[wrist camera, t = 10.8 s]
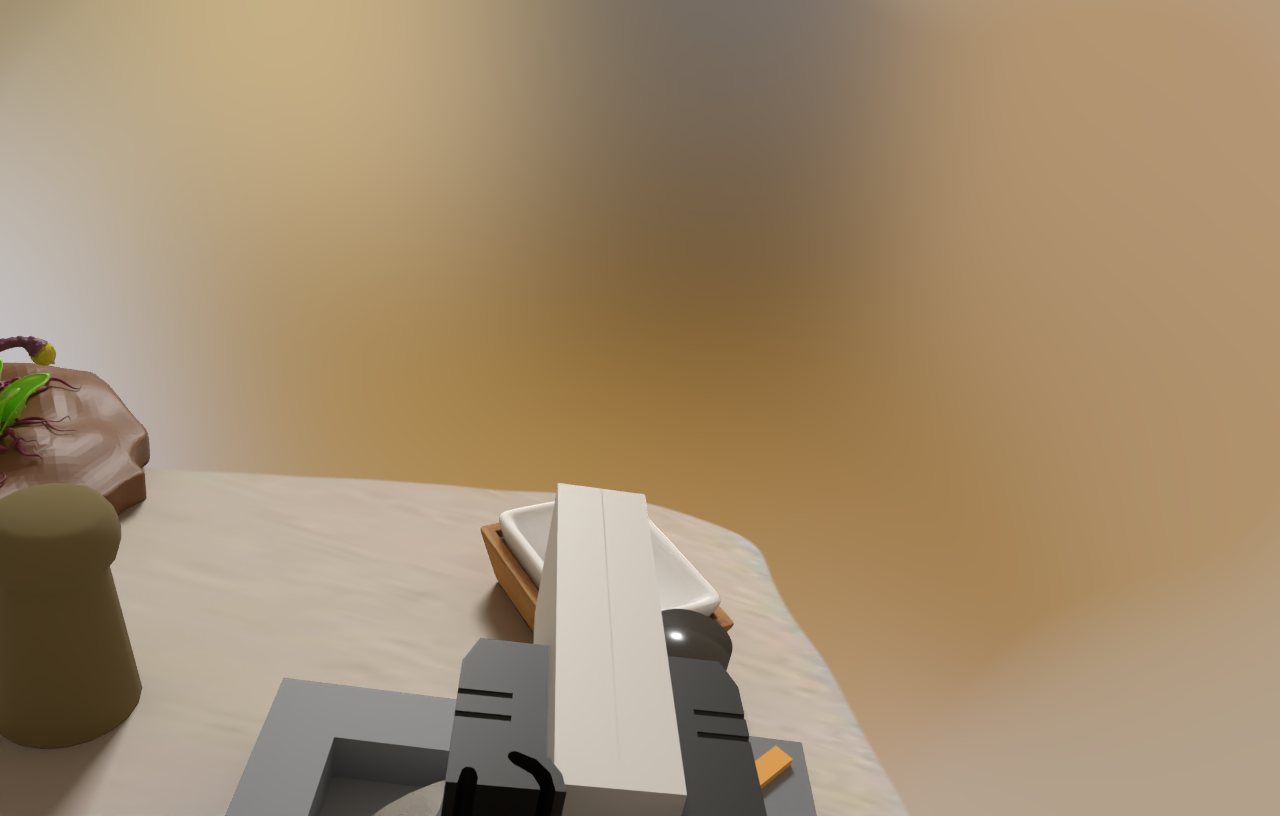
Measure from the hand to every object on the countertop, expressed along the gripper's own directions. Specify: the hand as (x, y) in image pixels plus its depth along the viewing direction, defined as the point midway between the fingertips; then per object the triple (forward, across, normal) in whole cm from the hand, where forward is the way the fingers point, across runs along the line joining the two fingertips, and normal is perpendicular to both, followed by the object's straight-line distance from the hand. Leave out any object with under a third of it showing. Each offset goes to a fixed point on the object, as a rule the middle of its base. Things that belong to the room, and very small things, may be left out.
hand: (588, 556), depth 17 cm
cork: (+23, -20, -27) cm, 40 cm away
